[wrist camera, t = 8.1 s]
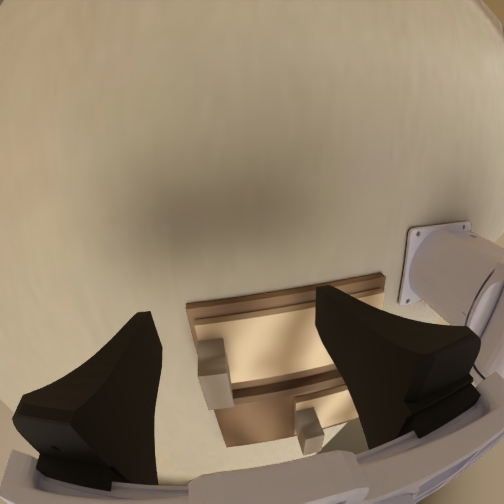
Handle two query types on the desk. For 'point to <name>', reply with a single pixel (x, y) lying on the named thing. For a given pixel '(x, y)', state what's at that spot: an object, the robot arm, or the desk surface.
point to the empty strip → (260, 346)
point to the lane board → (278, 387)
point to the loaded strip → (320, 415)
